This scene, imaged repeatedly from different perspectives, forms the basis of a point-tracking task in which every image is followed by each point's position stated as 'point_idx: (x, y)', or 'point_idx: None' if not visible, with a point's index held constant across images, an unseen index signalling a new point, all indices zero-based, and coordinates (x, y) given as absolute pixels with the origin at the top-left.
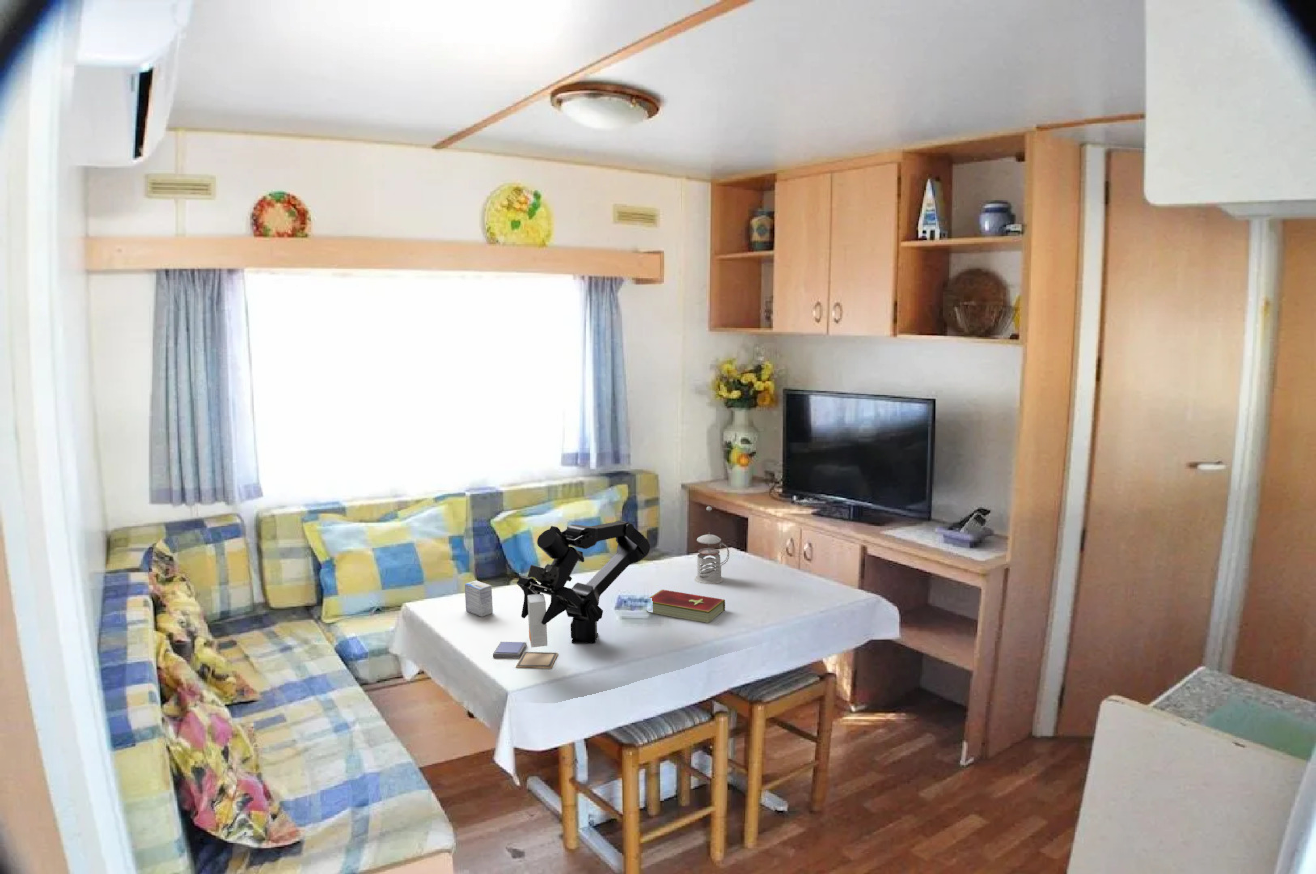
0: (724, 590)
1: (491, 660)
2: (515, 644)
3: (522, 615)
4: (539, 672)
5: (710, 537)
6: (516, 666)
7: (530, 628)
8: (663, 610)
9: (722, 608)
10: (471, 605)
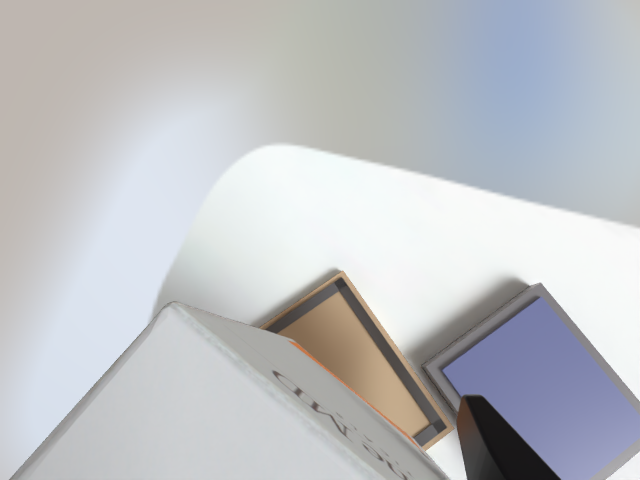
0: None
1: (504, 257)
2: (554, 449)
3: (468, 401)
4: (213, 305)
5: None
6: (340, 272)
7: (273, 333)
8: None
9: None
10: None
